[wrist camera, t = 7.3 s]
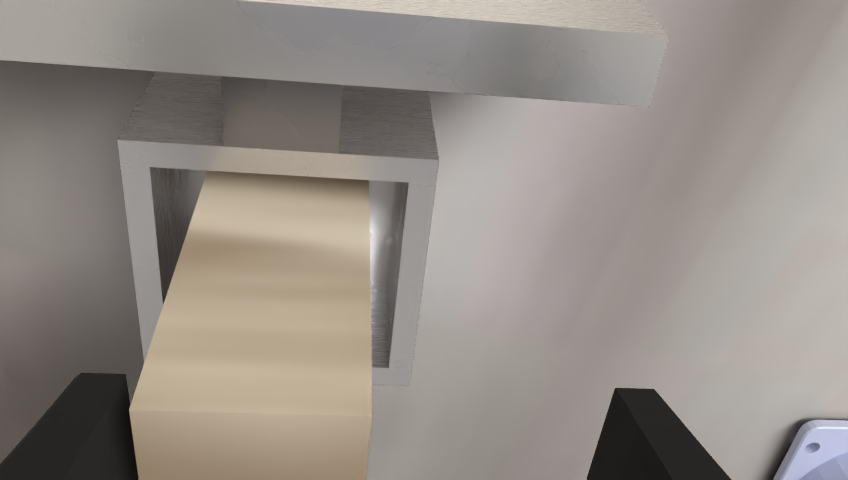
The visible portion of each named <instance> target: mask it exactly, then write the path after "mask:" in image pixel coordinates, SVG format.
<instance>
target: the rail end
mask: <svg viewBox="0 0 848 480" xmlns="http://www.w3.org/2000/svg"><path fill="white" fill-rule="evenodd" d="M129 413H130V421H131V428H132V435H133V442H134V449H135V456H136V463H137V470H138V477H139V480H366V475H367V465H368V454H369V444H370V434H371V423H372V364H371V286H370V208H369V180H358V179H341V178H325V177H308V176H291V175H274V174H257V173H241V172H224V171H207V173H206V176H205V179H204V182H203V185H202V188H201V191H200V194H199V197H198V201H197V204H196V207H195V210H194V213H193V216H192V219H191V222H190V225H189V228H188V231H187V234H186V237H185V240H184V243H183V246H182V249H181V252H180V256H179V259H178V262H177V265H176V268H175V271H174V274H173V277H172V280H171V283H170V286H169V289H168V292H167V295H166V298H165V301H164V304H163V307H162V311H161V314H160V317H159V320H158V323H157V326H156V329H155V332H154V335H153V338H152V341H151V344H150V347H149V350H148V353H147V356H146V359H145V363H144V366H143V369H142V372H141V375H140V378H139V381H138V384H137V387H136V390H135V393H134V396H133V399H132V402H131V405H130V408H129Z"/></svg>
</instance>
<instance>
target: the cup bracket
mask: <svg viewBox="0 0 848 480" xmlns="http://www.w3.org/2000/svg"><path fill="white" fill-rule="evenodd" d="M669 37H670V36H669V35H668V34H667V32H666V31H665V30H664V29H663V28H662V27H661V26H660V25H659V24H658V22H657V21H656V20H655V19H654V18H653V17H652V16H651V15H650V14H649V12H648V11H647V10H646V9H645V8H644V7H643V6H642V5H641V4H640V2H639V1H638V0H0V60H7V61H21V62H35V63H49V64H62V65H76V66H90V67H104V68H118V69H131V70H145V71H155V72H154V74H153V76H152V78H151V79H150V81H149V83H148V85H147V87H146V89H145V90H144V92H143V94H142V96H141V98H140V99H139V101H138V103H137V105H136V107H135V108H134V110H133V112H132V114H131V116H130V117H129V119H128V121H127V123H126V125H125V127H124V128H123V130H122V132H121V134H120V136H119V137H118V139H117V143H118V151H119V159H120V168H121V176H122V184H123V193H124V201H125V209H126V217H127V226H128V234H129V242H130V251H131V259H132V267H133V276H134V284H135V292H136V300H137V309H138V317H139V325H140V334H141V342H142V350H143V358H144V363H145V359H146V356H147V353H148V350H149V347H150V344H151V341H152V338H153V335H154V332H155V329H156V326H157V323H158V320H159V317H160V314H161V311H162V307H163V304H164V301H165V298H166V295H167V292H168V289H169V286H170V283H171V280H172V277H173V274H174V271H175V268H176V265H177V262H178V259H179V256H180V252H181V249H182V246H183V243H184V240H185V237H186V234H187V231H188V228H189V225H190V222H191V219H192V216H193V213H194V210H195V207H196V204H197V201H198V197H199V194H200V191H201V188H202V185H203V182H204V179H205V176H206V173H207V171H224V172H241V173H257V174H274V175H291V176H308V177H325V178H341V179H358V180H369V208H370V286H371V364H372V385H402V386H410V380H411V373H412V365H413V357H414V350H415V342H416V334H417V327H418V319H419V311H420V303H421V296H422V288H423V280H424V273H425V265H426V257H427V250H428V242H429V234H430V227H431V219H432V211H433V204H434V196H435V188H436V181H437V173H438V165H439V156H438V150H437V144H436V138H435V131H434V125H433V119H432V113H431V107H430V101H429V95H428V91H435V92H449V93H463V94H477V95H491V96H504V97H518V98H532V99H546V100H560V101H573V102H587V103H601V104H615V105H629V106H642V107H650V104H651V100H652V96H653V93H654V89H655V86H656V82H657V79H658V75H659V72H660V68H661V65H662V61H663V58H664V54H665V51H666V47H667V44H668V40H669Z"/></svg>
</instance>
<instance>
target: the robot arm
mask: <svg viewBox="0 0 848 480" xmlns="http://www.w3.org/2000/svg"><path fill="white" fill-rule="evenodd" d="M129 408H130V401H129V394H128V387H127V381H126V374H102V373H81V374H79V375H78V376H77V377H76V378H74V380H73V381H72V382H71V383H70V384H69V386H68V387H67V388H66V389H65V390H64V392H63V393H62V394H61V395H60V396H59V397H58V399H57V400H56V401H55V402H54V403H53V405H52V406H51V407H50V408H49V409H48V410H47V412H46V413H45V414H44V415H43V416H42V418H41V419H40V420H39V421H38V422H37V423H36V424H35V426H34V427H33V428H32V429H31V430H30V431H29V432H28V434H27V435H26V436H25V437H24V438H23V439H22V440H21V442H20V443H19V444H18V445H17V446H16V447H15V448H14V449H13V451H12V452H11V453H10V454H9V455H8V456H7V457H6V458H5V459H4V460H3V461H2V462H1V464H0V480H138V478H139V477H138V470H137V463H136V456H135V449H134V442H133V435H132V428H131V421H130V413H129ZM587 480H731V479H730V478H729V476H728V475H727V474H726V473H725V472H724V471H723V470H722V468H721V467H720V466H719V465H718V464H717V463H716V461H715V460H714V459H713V458H712V457H711V456H710V454H709V453H708V452H707V451H706V450H705V449H704V447H703V446H702V445H701V444H700V443H699V442H698V440H697V439H696V438H695V437H694V436H693V434H692V433H691V432H690V431H689V430H688V429H687V427H686V426H685V425H684V424H683V423H682V421H681V420H680V419H679V418H678V417H677V415H676V414H675V413H674V412H673V411H672V410H671V408H670V407H669V406H668V405H667V404H666V402H665V401H664V400H663V399H662V398H661V397H660V395H659V394H658V393H657V392H656V391H655V390H654V389H635V388H615V390H614V393H613V396H612V400H611V403H610V406H609V409H608V412H607V415H606V419H605V422H604V425H603V428H602V431H601V435H600V438H599V441H598V444H597V447H596V450H595V454H594V457H593V460H592V463H591V466H590V470H589V473H588V476H587ZM773 480H848V421H846V420H811V421H809V422H807V423H805V424H804V425H802V427H801V428H800V429H799V431H798V433H797V435H796V437H795V439H794V441H793V442H792V444H791V446H790V448H789V450H788V452H787V454H786V456H785V458H784V460H783V462H782V463H781V465H780V467H779V469H778V471H777V473H776V475H775V477H774V479H773Z"/></svg>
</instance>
